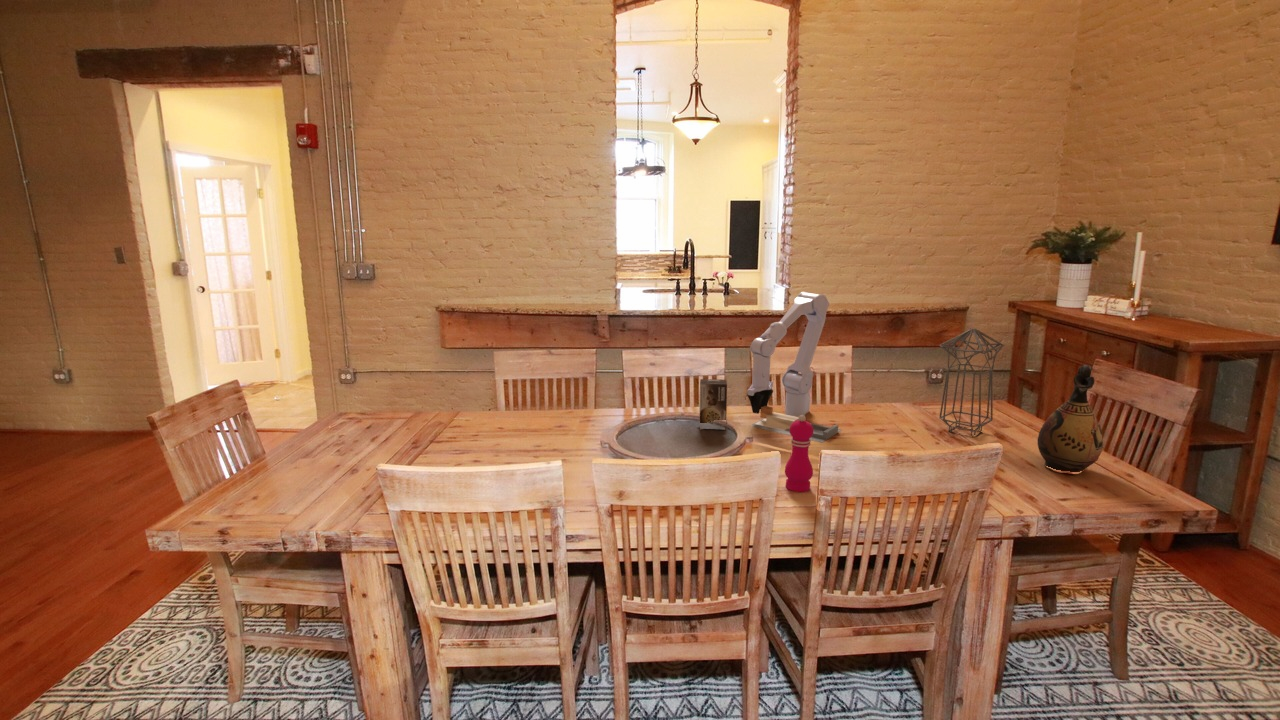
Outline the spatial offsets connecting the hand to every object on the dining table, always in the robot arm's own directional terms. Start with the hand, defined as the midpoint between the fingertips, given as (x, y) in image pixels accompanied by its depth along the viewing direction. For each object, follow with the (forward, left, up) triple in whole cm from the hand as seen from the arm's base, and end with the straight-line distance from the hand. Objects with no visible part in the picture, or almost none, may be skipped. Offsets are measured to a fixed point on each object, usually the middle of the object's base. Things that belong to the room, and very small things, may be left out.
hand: (759, 411), depth 226 cm
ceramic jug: (-18, +88, -4) cm, 90 cm away
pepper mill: (+43, +34, -4) cm, 55 cm away
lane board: (0, +14, -4) cm, 14 cm away
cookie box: (+15, -10, -4) cm, 18 cm away
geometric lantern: (-34, +58, -4) cm, 67 cm away
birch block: (0, +8, -3) cm, 8 cm away
